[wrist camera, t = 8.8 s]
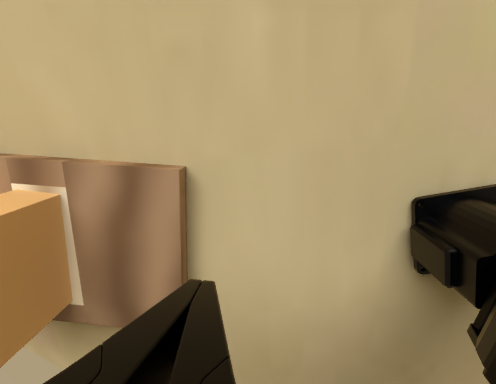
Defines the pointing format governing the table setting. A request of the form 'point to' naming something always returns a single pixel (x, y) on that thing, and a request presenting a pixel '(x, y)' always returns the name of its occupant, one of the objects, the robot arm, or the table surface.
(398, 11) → the table surface
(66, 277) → the t block
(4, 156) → the board
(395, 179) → the table surface
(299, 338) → the table surface
